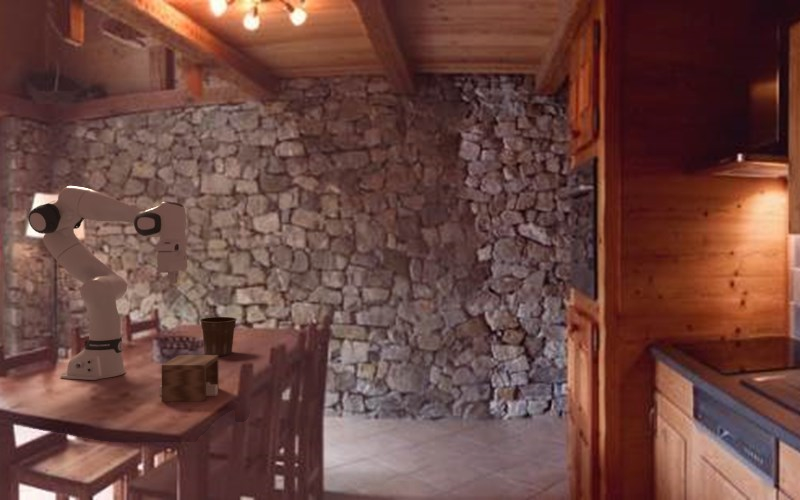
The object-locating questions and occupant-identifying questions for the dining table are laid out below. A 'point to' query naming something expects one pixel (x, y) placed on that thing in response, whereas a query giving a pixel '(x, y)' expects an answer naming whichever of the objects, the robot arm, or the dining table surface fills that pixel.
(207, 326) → the plant pot
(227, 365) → the dining table surface
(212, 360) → the wooden crate box
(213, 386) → the tray
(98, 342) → the robot arm
